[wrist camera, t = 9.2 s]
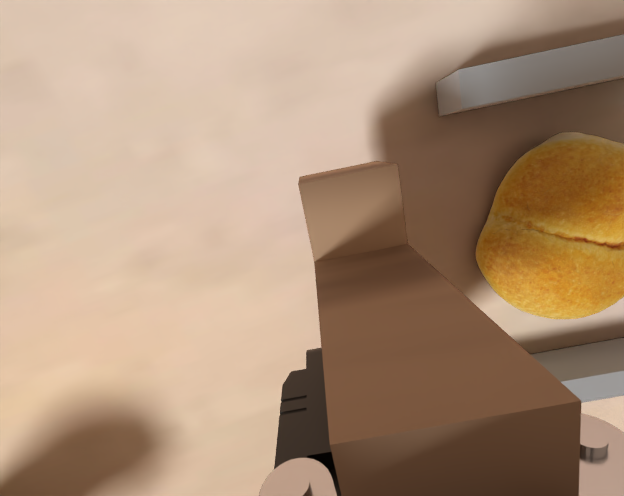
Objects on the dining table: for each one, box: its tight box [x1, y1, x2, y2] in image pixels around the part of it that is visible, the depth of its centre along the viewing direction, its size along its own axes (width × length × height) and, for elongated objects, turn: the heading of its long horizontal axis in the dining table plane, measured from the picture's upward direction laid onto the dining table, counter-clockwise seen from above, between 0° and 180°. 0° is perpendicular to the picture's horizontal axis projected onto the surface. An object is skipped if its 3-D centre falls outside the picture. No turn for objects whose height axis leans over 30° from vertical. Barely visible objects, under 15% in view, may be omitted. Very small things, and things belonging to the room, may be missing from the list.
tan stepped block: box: [298, 161, 581, 496], centre depth 10 cm, size 11×3×10 cm, turn 11°
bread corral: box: [436, 34, 624, 403], centre depth 17 cm, size 17×14×2 cm
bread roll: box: [475, 132, 624, 319], centre depth 16 cm, size 8×9×4 cm
